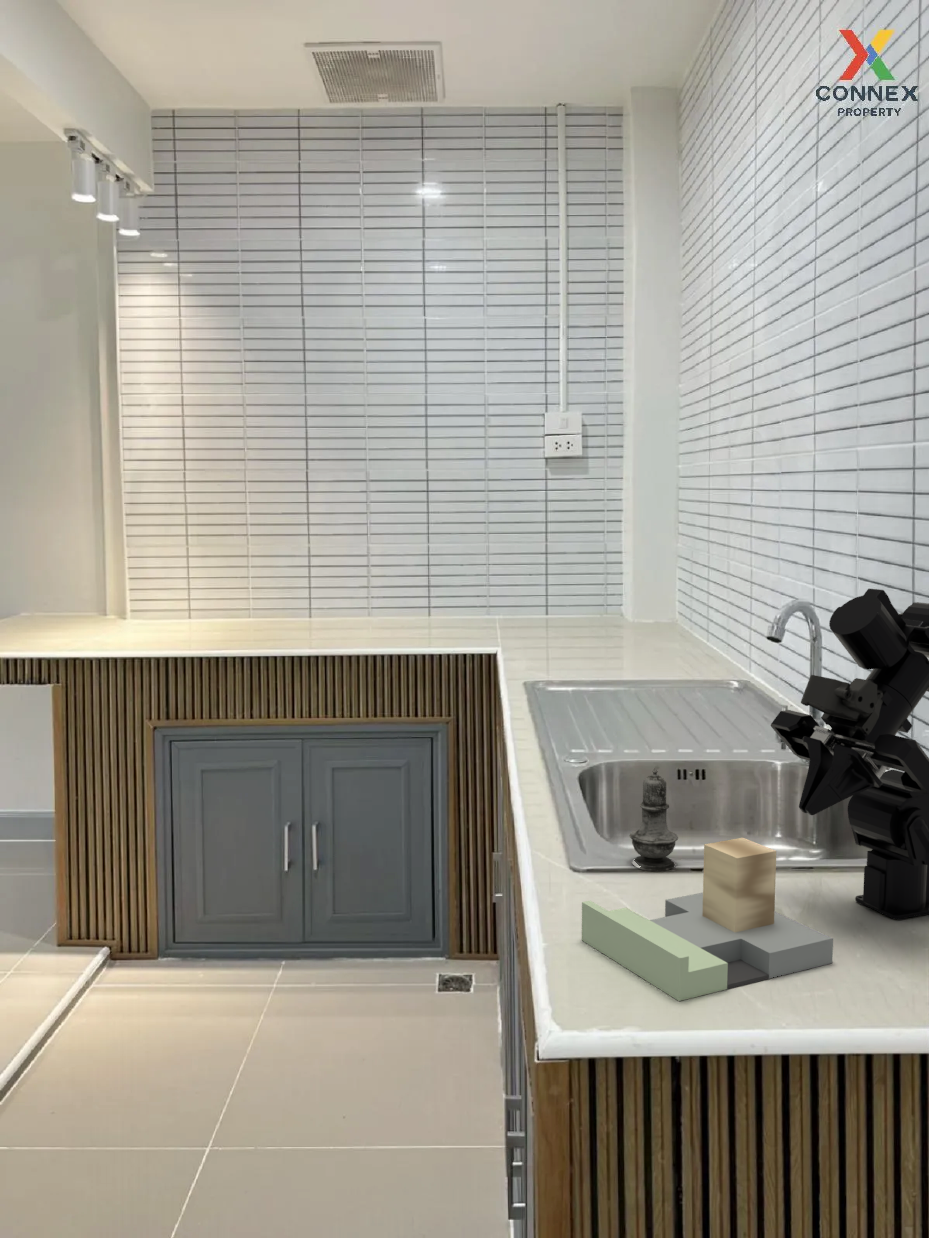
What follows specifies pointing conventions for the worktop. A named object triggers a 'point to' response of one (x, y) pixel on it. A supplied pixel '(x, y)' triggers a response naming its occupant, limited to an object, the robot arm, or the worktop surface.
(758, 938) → the board
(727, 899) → the beech block
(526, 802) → the worktop surface
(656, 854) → the salt shaker
